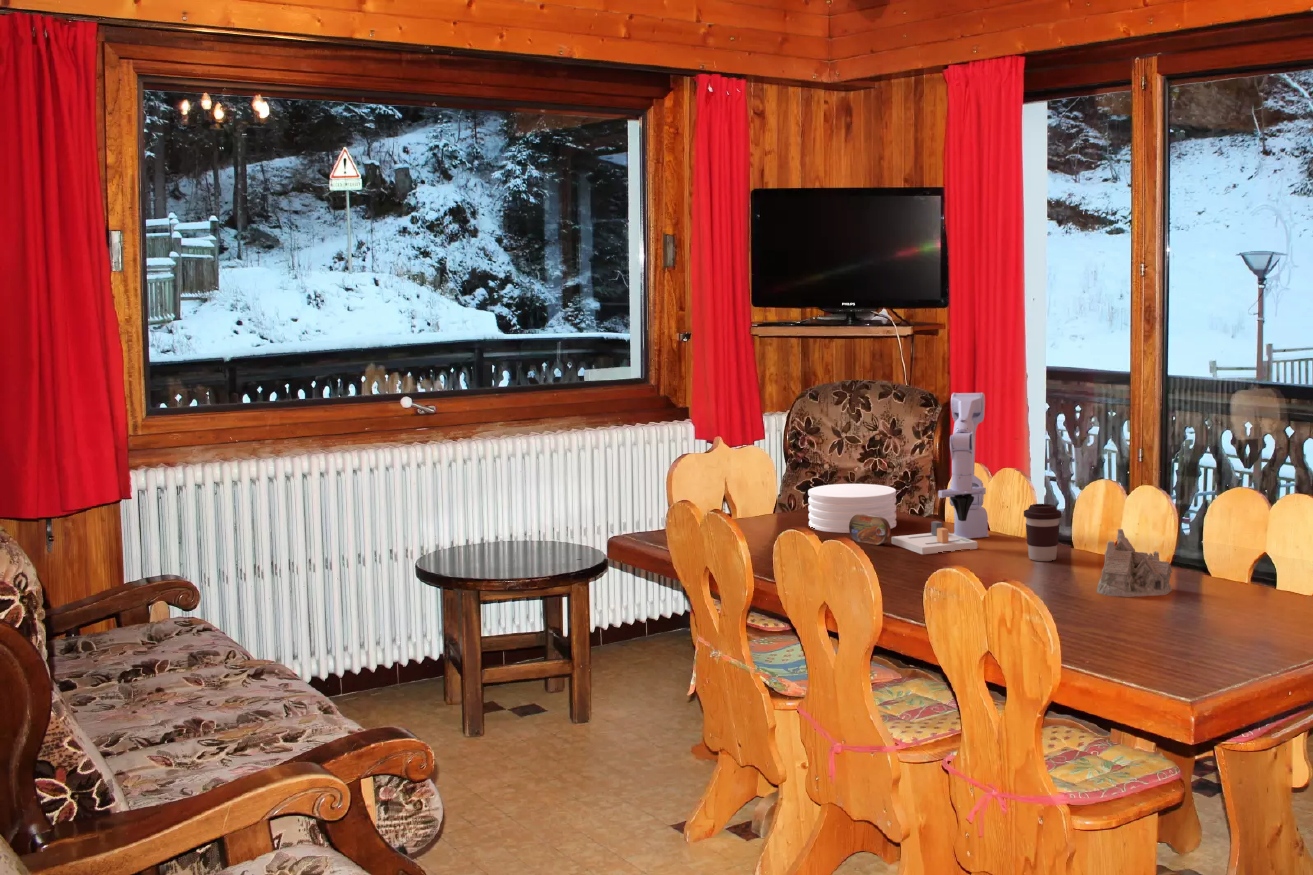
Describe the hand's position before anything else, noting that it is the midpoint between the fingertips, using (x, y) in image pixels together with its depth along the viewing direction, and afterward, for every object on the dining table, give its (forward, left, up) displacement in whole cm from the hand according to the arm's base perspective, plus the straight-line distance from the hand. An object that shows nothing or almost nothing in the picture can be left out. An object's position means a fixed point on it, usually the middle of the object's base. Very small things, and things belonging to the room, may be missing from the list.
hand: (962, 520), depth 371 cm
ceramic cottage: (-8, +65, -8) cm, 66 cm away
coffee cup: (-11, +24, -8) cm, 27 cm away
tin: (+20, -18, -8) cm, 28 cm away
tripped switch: (+7, 0, -6) cm, 9 cm away
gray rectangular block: (+3, -10, -6) cm, 12 cm away
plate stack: (+12, -47, -8) cm, 49 cm away
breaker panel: (+6, -5, -8) cm, 11 cm away
